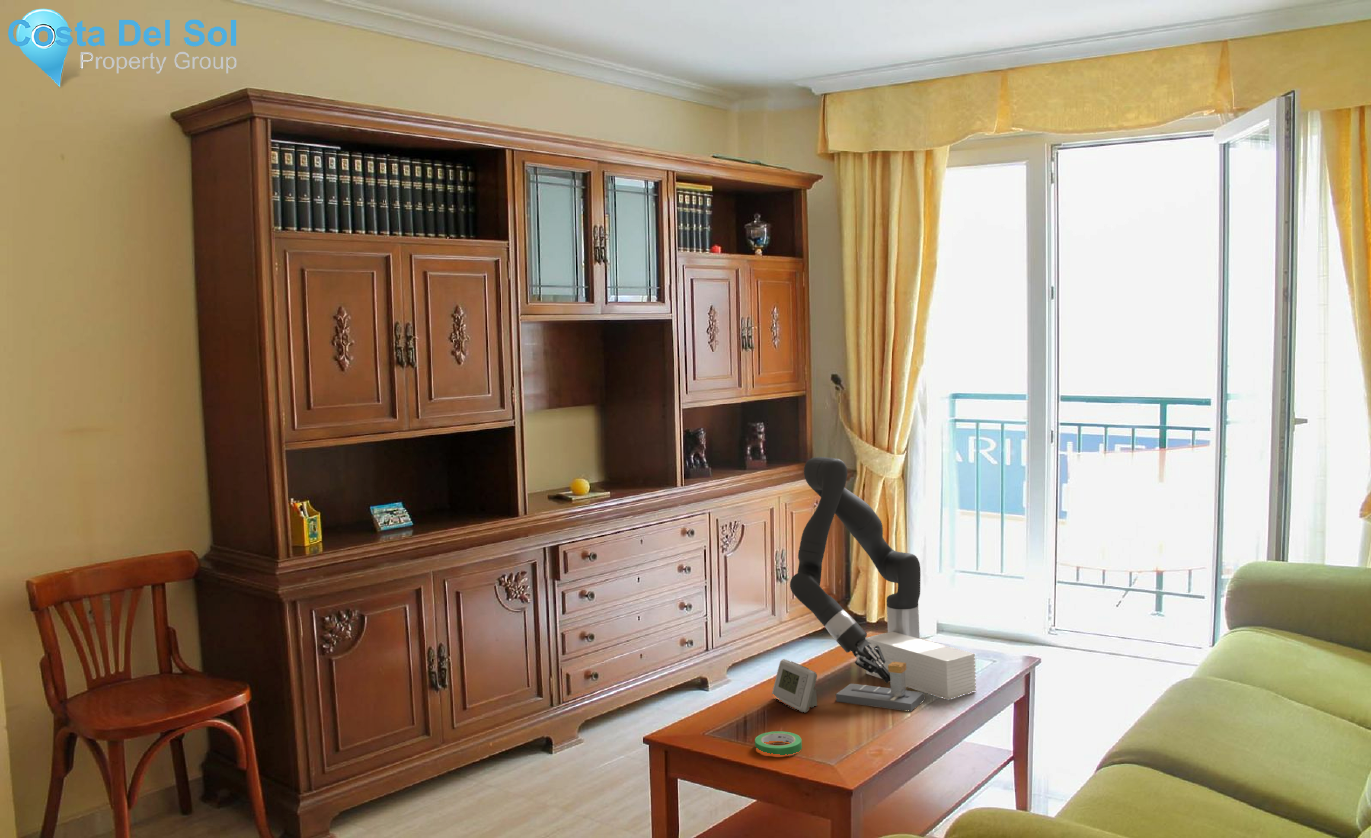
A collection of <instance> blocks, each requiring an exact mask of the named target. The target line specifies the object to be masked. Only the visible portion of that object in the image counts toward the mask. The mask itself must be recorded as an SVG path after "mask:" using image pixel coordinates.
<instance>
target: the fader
mask: <svg viewBox="0 0 1371 838" xmlns="http://www.w3.org/2000/svg"><path fill="white" fill-rule="evenodd" d="M905 670H906V663H902V662H892V663H890V664H889V665H888V672H890V682H889V684H890V688H891V696H898V697H902V696H904V695H905V694H906V690H907V689H906V688H907V687H906V685H905Z"/></svg>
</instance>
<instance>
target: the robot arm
mask: <svg viewBox="0 0 1371 838" xmlns="http://www.w3.org/2000/svg"><path fill="white" fill-rule="evenodd" d="M803 476H804V479H805V482H806V483H807V485H808V486H809V487H810V488H811V490H813V491H814V492H815V493H816V494H817V495H818V496H819V497H820V501H819V503H818V505H817V507H816V509H815V510H814V512H813V514H812V516H811V517H810V518H809V520H808V521H807V523H806V525H805V526H804V528H803V531H802V534H801V538H800V542H799V547H798V552H797V554H798V555H797V559H798V568H797V569H798V570H797V573H796V574H793V576H791V579H790V582H789V588H790V590H791V592H792V594H793V595H794V597H796V598H797V600H798V601H800V603H801V604H802V605H804V606H805V607H806V608H807V609H808V610H809V611H810V612H811V613H812V614H813V615H814V616H815V618H816V619H817V620H818V621H819V622H820V623H821V625H823V626H824V628H825V629H826V630H827V632H828V633H829V634H830V636H831V637H832V638H833V639H834V640H835V641H836V642H837V644H838V645H839V646H840V647H841V648H842V649H843V651H845V652H846V653H850V652H851V653H852V654H853V656H854V657H856V660H855V661H854V664H855V665H856V666H858V667H860V668H861V669H863V670H865V671H866V670H867V671H868V672H870V673H873V672H875V673H878V675H879V676H880V677H881V678H882V679H881V678H880V679H881V680H883V681H884V683H885V684H889V683H890V672H888V670H887V669H886V668H885V667H884V666H885V664H884V663H885V662H886V661H885V659H884V656H883V654H882V652H881V649H880V647H879V646H878V645H877V646H875V647H874V646H872V645H871V643H870V642H868V641H867V640H866V639H865V638H867V637H868V633H867V632H866V631H865V630H864V628H863V627H862V626H860V624H859V623H858V622H857V621H856V620H855V619H854V618H853V616H851V614H849V612H847V611H846V610H845V609H844V608H843V607H842V606H841V604H840V603H838V601H837V600H836V599H835V598H833V597H832V596H831V595H829V594H828V593H827V592H825V591H824V589H823V588H822V587H821V581H822V570H823V569H822V567H823V566H822V565H823V560H824V555H825V553H826V552H825V550H826V547H827V541H828V538H829V537H828V536H829V532H830V528H831V526H832V522H833V520H834V517H835V515H836V516H837V518H838V519H839V520H840V521H841V522H842V523H843V525H844V526H845V528H846V529H847V530H848V532H849V533H850V534H851V535H852V537H853V538H854V539H855V540H856V541H857V543H858V544H859V545H860V547H861V548H862V549H863V550H864V552H866V554H867V556H869V558H870V560H871V561H872V563H873V565H874V566H875V568H876V569H877V571H878V573H879V574H880V576H881V577H882V578H883V579H884V580H886V581H887V582H889V583H896V584H897V590H896V591H897V592H895V593H891V594H889V595H888V596H887V597H886V615H887V616H886V618H887V620H886V621H887V632H891V631H892V632H896V633H900V634H904V635H907V636H911V637H915V638H918V639H921V638H920V637H921V635H920V633H921V632H920V616H919V615H920V614H919V613H920V612H919V611H920V610H919V600H920V596H921V577H922V576H921V574H922V573H921V564H920V563H921V562H920V560H919V558H918V557H917V556H916V555H915V554H914V553H908V552H902V551H896V550H894V549H893V548H892V547H891V546H890V545H889V544H888V543H887V542H886V541H885V539H884V536H883V535H884V528H883V524H882V520H881V519H880V517H879V516H878V514H877V513H876V512H875V510H874V509H873V508H872V507H871V506H870V505H869V504H868V503H867V502H866V501H864V499H862V498H860V497H859V496H858V495H857V494H855V493H853V492H852V491H850V490H848V489H847V488H846V483H847V480H848V468H847V465H846V463H845V462H844V461H843V460H842V459H840V458H834V457H827V456H826V457H825V456H816V457H815V456H814V457H811V458H809V459H808V460H807V461H806V462H805V465H804V466H803ZM880 659H881V660H880ZM871 660H872V661H871Z"/></svg>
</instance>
